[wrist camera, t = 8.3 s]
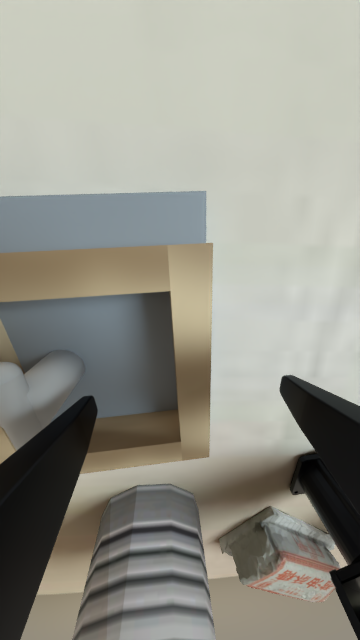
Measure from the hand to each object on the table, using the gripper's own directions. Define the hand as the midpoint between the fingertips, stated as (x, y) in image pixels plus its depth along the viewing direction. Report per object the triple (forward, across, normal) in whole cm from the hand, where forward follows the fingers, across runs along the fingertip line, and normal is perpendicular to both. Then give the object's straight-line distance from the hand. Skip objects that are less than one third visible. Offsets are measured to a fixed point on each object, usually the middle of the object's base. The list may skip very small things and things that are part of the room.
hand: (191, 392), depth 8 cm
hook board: (+5, +7, 0) cm, 8 cm away
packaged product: (+6, -13, +34) cm, 37 cm away
